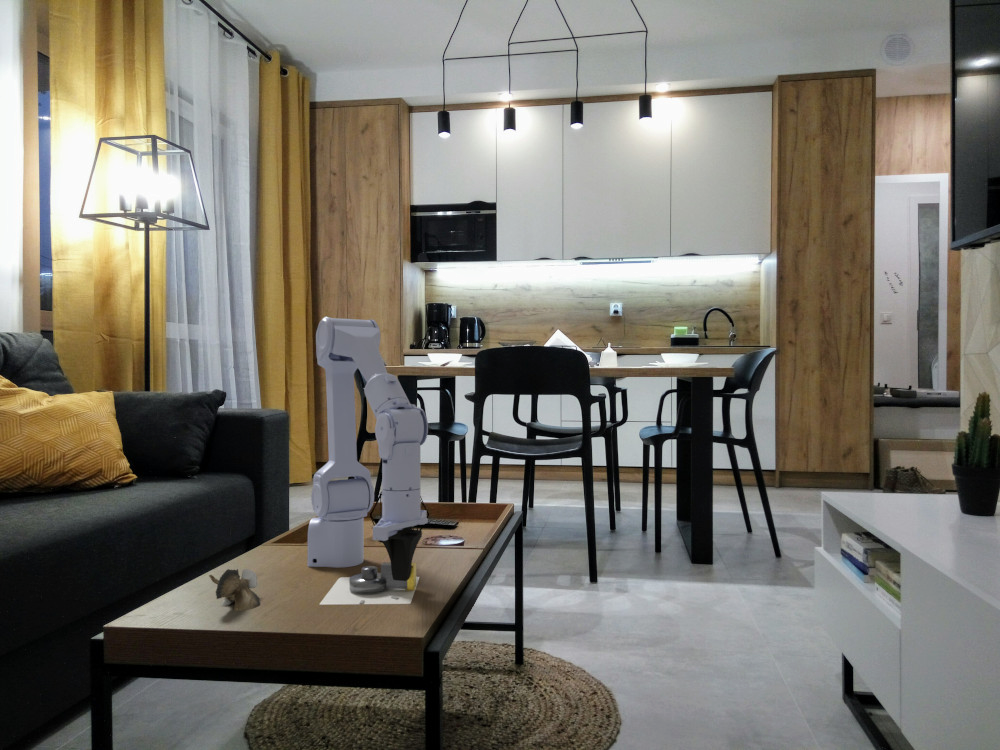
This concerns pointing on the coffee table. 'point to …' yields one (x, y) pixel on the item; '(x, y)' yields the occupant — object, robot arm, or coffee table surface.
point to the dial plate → (365, 595)
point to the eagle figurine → (237, 589)
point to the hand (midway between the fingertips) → (401, 579)
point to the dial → (380, 580)
